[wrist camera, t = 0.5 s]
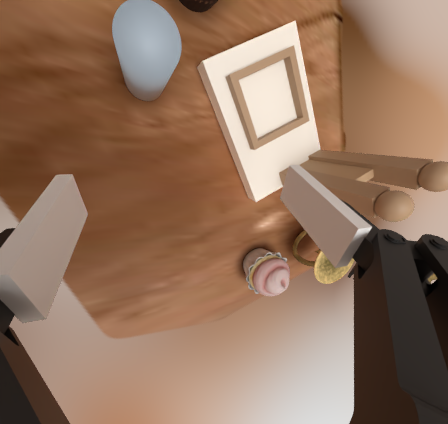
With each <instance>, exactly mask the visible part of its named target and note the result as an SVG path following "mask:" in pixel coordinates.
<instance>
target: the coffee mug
mask: <svg viewBox="0 0 448 424" xmlns="http://www.w3.org/2000/svg"><path fill="white" fill-rule="evenodd" d="M179 1H180V2H181V3H182V4H183V5H184V6H185V7H187V8H188V9H190V10H192V11H195V12H204V11H207V10H208V9H210V8H211V7H212V6H213V5H214V4H215V3H216V2H217V1H218V0H179Z"/></svg>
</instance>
